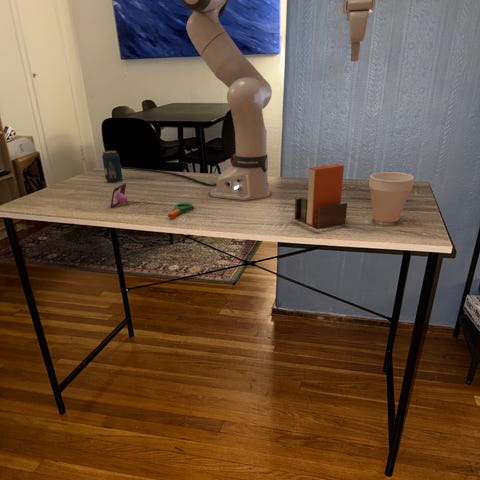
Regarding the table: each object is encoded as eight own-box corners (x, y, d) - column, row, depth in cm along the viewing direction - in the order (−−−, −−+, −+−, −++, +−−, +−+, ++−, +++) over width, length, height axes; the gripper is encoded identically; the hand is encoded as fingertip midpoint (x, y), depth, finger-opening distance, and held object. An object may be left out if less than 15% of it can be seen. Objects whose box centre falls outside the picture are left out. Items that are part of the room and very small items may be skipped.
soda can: (118, 178, 200) (113, 149, 194) (125, 180, 195) (121, 151, 189) (103, 181, 196) (98, 151, 190) (110, 183, 191) (106, 153, 185)
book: (305, 223, 135) (308, 167, 127) (332, 217, 139) (337, 163, 131) (311, 226, 133) (315, 169, 125) (339, 220, 137) (344, 165, 129)
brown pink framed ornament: (123, 182, 163) (111, 188, 156) (136, 187, 163) (125, 194, 155) (120, 199, 167) (108, 206, 159) (133, 205, 167) (121, 212, 159)
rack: (293, 222, 140) (293, 197, 137) (321, 216, 145) (323, 192, 141) (316, 233, 131) (318, 206, 127) (346, 226, 136) (348, 200, 132)
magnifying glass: (179, 205, 159) (179, 200, 158) (195, 206, 157) (195, 201, 156) (161, 218, 146) (161, 213, 145) (179, 219, 145) (178, 214, 144)
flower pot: (413, 221, 139) (421, 175, 132) (395, 231, 131) (402, 183, 124) (376, 213, 146) (382, 170, 139) (357, 223, 138) (362, 177, 131)
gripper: (346, 9, 138) (342, 61, 145) (348, 2, 121) (343, 61, 127) (367, 8, 137) (363, 60, 144) (372, 0, 119) (367, 61, 126)
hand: (354, 61), depth 135 cm, fingers open, 8 cm apart
